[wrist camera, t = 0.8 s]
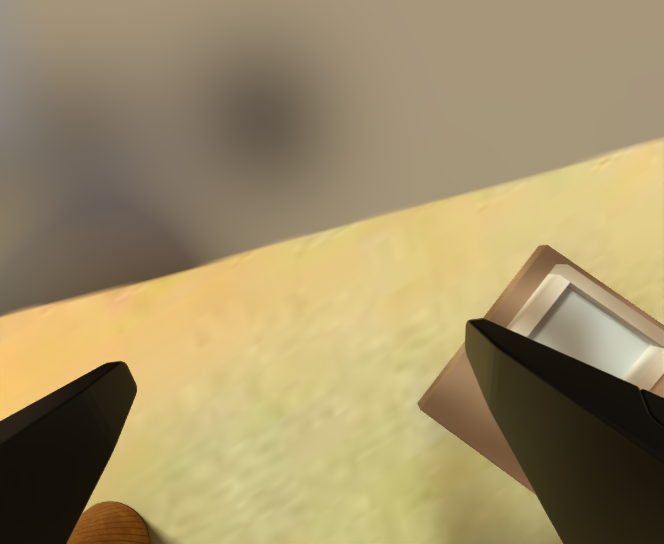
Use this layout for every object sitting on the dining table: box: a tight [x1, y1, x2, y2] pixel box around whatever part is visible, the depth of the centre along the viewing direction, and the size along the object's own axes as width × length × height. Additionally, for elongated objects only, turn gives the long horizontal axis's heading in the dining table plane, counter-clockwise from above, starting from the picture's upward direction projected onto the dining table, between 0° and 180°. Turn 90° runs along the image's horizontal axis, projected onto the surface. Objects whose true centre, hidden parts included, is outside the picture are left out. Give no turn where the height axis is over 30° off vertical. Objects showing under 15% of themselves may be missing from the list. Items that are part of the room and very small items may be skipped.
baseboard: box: [418, 245, 664, 494], centre depth 21 cm, size 14×21×2 cm, turn 54°
